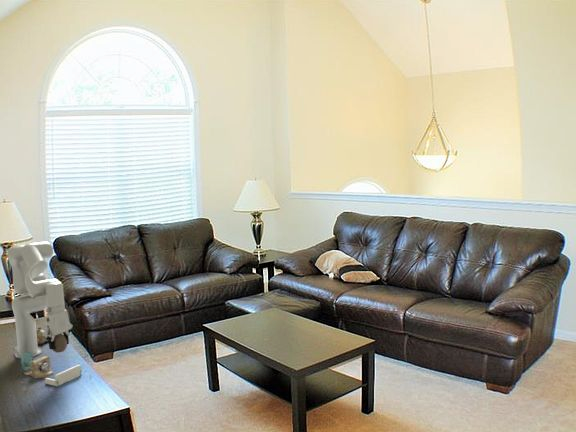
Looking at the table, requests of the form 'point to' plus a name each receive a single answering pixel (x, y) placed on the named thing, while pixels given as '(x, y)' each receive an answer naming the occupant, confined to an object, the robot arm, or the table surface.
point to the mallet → (27, 360)
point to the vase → (60, 343)
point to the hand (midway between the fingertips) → (59, 346)
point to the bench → (35, 368)
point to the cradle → (65, 376)
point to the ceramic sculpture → (40, 336)
